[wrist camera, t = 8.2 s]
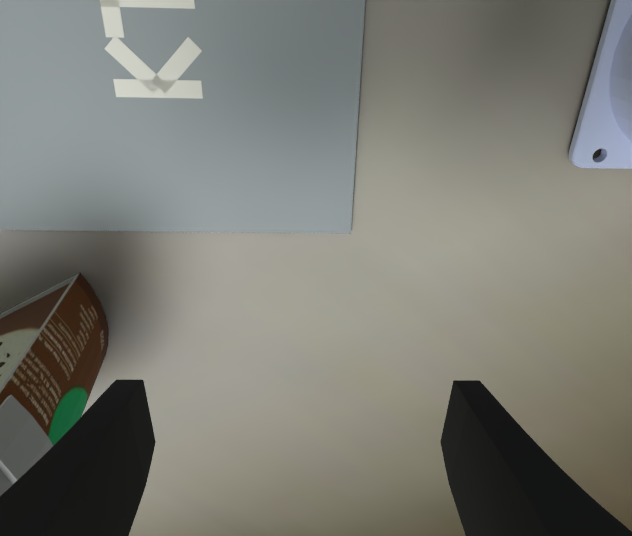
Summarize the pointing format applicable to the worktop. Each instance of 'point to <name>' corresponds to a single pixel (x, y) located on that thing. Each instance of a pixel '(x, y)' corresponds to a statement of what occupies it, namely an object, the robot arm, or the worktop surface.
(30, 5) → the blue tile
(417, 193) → the worktop surface
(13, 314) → the food container
